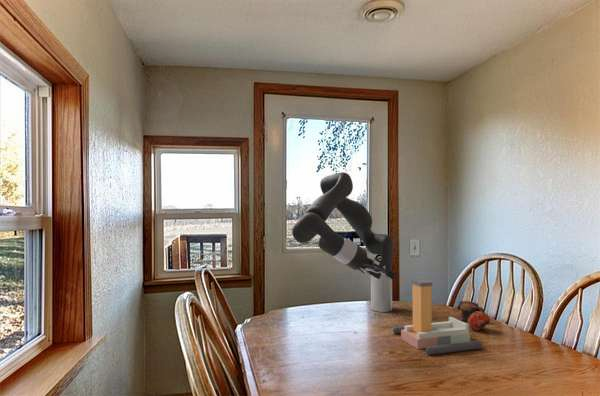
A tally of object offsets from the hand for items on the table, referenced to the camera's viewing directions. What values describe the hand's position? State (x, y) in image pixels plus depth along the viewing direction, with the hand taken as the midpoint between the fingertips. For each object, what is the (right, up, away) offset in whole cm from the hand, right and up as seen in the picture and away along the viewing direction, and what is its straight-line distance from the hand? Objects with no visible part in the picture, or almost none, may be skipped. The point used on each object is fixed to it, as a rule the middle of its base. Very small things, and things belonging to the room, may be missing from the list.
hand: (387, 276), depth 127 cm
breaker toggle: (+12, -19, +2) cm, 23 cm away
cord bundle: (+14, -23, +13) cm, 30 cm away
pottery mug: (+40, -23, +27) cm, 54 cm away
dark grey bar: (+20, -22, -6) cm, 30 cm away
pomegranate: (+37, -23, +14) cm, 46 cm away
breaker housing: (+17, -22, +3) cm, 28 cm away
